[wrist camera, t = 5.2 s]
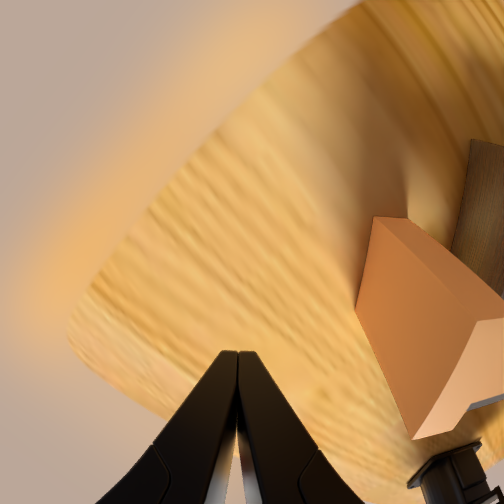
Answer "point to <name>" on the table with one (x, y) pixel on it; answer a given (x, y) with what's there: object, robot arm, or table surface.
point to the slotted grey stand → (483, 223)
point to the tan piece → (429, 326)
